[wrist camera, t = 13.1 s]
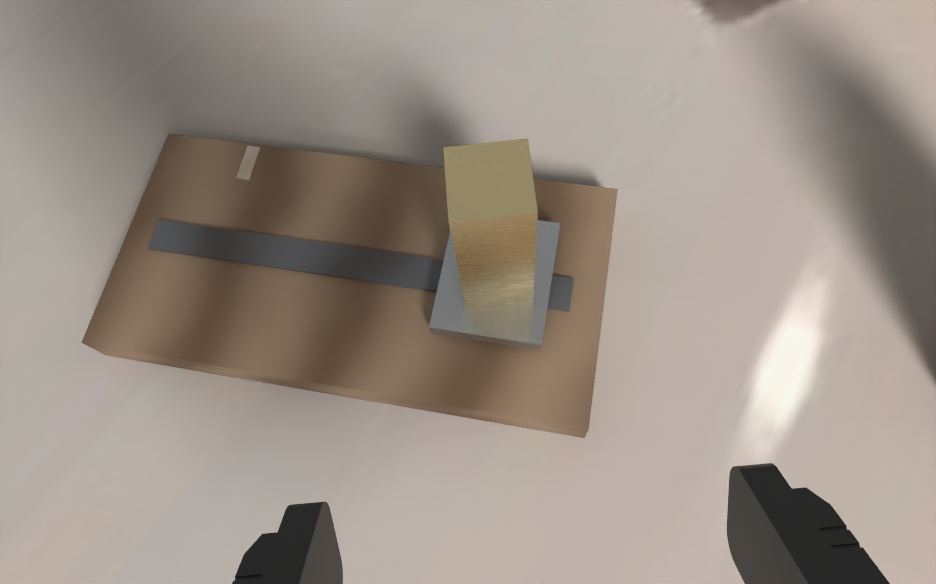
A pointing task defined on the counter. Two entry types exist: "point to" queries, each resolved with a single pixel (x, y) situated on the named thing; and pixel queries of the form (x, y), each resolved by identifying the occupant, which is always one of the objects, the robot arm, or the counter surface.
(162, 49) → the counter surface
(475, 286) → the fader lever
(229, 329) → the fader board
